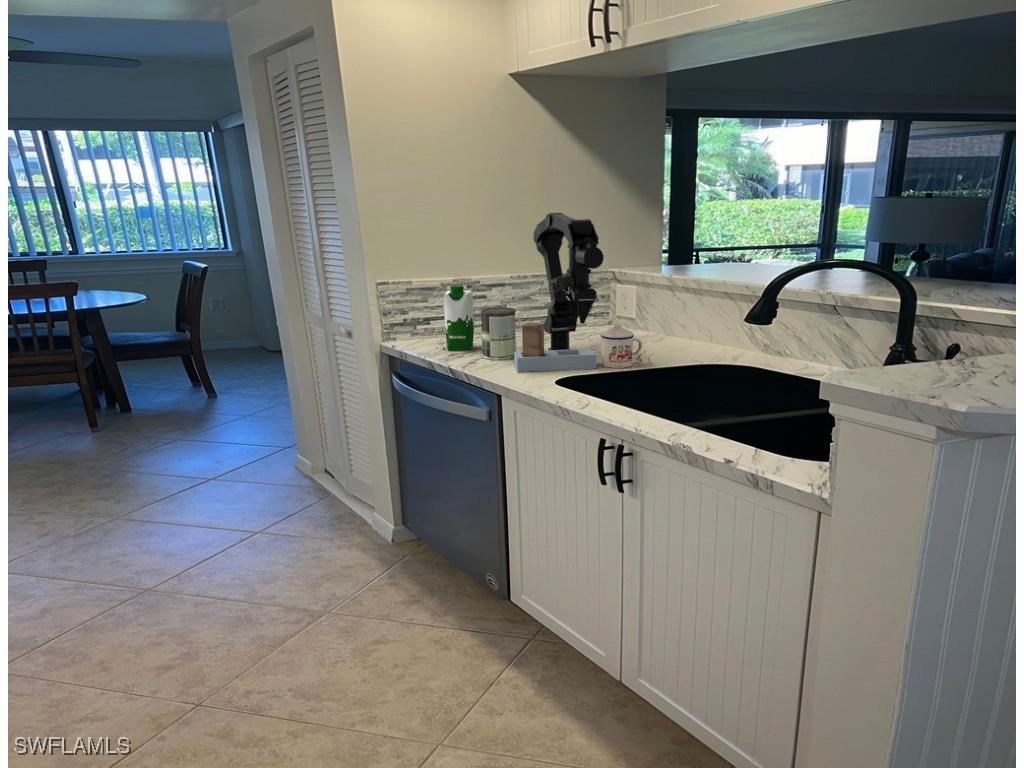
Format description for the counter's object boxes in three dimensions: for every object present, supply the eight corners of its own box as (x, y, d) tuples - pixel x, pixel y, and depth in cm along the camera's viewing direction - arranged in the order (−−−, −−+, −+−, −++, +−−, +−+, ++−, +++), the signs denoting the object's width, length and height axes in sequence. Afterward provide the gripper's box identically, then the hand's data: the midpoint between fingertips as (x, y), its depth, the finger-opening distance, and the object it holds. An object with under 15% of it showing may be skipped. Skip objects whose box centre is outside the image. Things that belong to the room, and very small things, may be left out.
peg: (529, 366, 217) (528, 322, 214) (544, 367, 215) (543, 323, 212) (523, 369, 213) (522, 325, 210) (537, 370, 211) (537, 326, 208)
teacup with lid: (607, 370, 210) (608, 328, 207) (595, 362, 219) (596, 322, 216) (648, 366, 213) (649, 325, 210) (634, 359, 222) (635, 319, 219)
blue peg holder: (517, 372, 210) (517, 358, 209) (514, 365, 217) (514, 352, 216) (596, 368, 212) (596, 354, 211) (590, 362, 220) (590, 348, 219)
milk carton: (444, 351, 239) (441, 287, 234) (449, 345, 247) (446, 283, 242) (472, 351, 238) (469, 287, 233) (476, 345, 246) (474, 283, 241)
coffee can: (475, 358, 228) (473, 311, 225) (494, 351, 237) (492, 306, 233) (504, 361, 223) (503, 313, 220) (522, 354, 232) (521, 308, 228)
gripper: (545, 263, 222) (546, 316, 226) (556, 269, 204) (556, 327, 208) (583, 261, 223) (583, 314, 227) (597, 268, 205) (596, 325, 209)
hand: (579, 320), depth 218 cm, fingers open, 9 cm apart
